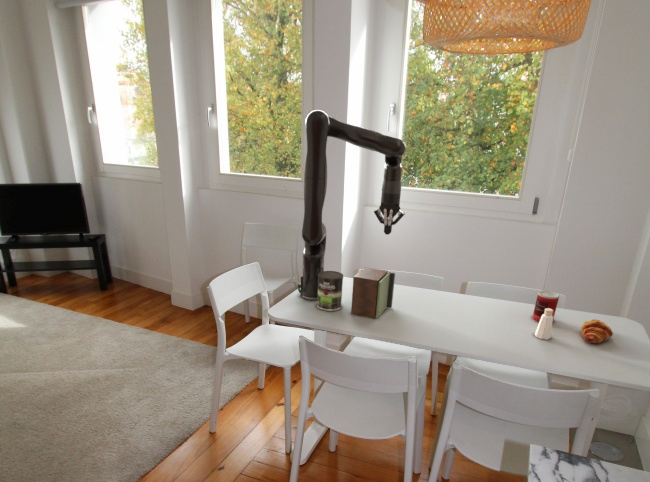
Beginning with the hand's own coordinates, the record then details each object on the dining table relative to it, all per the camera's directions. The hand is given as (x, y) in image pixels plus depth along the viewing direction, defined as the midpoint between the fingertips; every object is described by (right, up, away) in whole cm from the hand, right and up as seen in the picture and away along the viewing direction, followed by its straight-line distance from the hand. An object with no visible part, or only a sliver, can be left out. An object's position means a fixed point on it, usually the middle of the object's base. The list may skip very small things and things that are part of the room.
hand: (387, 234), depth 195 cm
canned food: (+62, -36, -5) cm, 72 cm away
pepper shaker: (+55, -42, -20) cm, 72 cm away
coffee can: (-24, -30, +2) cm, 39 cm away
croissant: (+75, -42, -19) cm, 88 cm away
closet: (-8, -32, -1) cm, 33 cm away
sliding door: (-2, -33, -4) cm, 33 cm away
